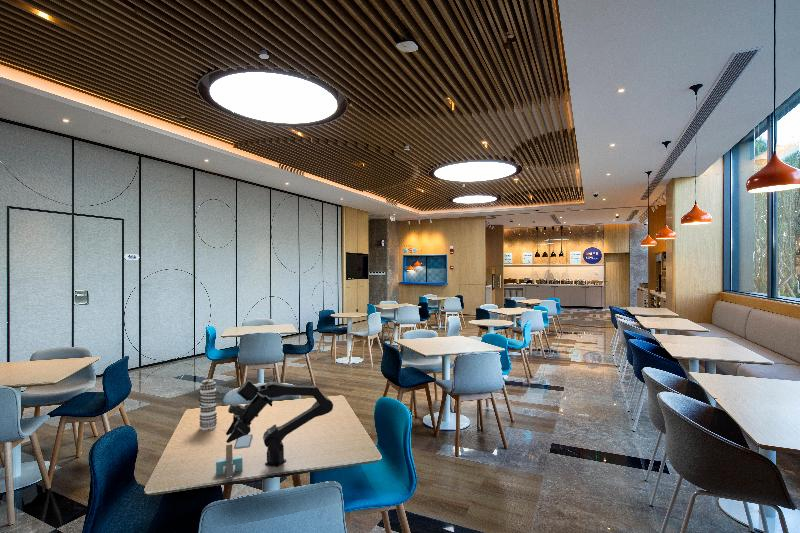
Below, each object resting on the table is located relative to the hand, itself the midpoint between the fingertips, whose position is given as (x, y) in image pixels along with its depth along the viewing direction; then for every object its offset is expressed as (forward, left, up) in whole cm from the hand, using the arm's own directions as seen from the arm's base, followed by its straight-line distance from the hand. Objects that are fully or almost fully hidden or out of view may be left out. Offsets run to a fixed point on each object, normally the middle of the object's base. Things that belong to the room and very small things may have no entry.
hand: (226, 438), depth 174 cm
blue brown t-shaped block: (-1, -1, -14) cm, 14 cm away
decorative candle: (+49, -38, -14) cm, 64 cm away
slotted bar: (-1, -1, -14) cm, 14 cm away
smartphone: (+16, -28, -14) cm, 35 cm away
